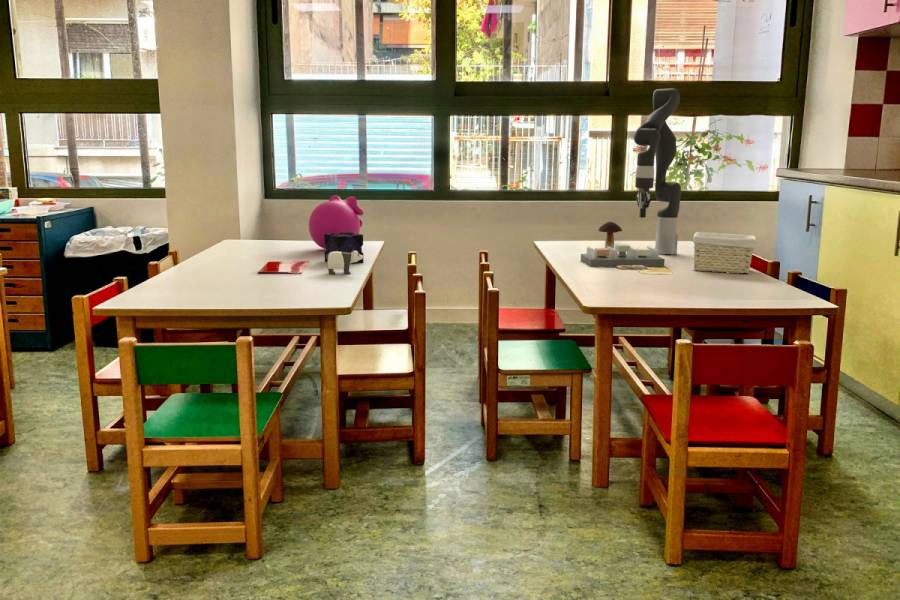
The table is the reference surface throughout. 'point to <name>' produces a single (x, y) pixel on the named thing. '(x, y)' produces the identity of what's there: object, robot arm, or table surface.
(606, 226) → the decorative mushroom
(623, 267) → the strip
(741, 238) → the storage basket
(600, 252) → the orange cube
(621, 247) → the key sage
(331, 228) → the figurine
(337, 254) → the giant panda
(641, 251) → the key ivory
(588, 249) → the grey shelf board
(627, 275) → the table surface
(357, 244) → the energy cube
